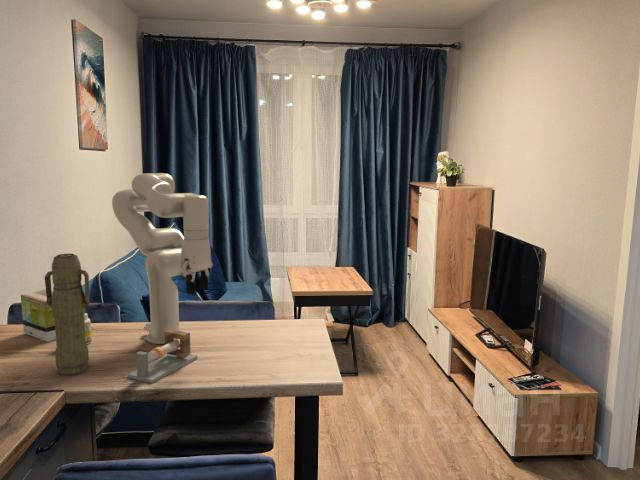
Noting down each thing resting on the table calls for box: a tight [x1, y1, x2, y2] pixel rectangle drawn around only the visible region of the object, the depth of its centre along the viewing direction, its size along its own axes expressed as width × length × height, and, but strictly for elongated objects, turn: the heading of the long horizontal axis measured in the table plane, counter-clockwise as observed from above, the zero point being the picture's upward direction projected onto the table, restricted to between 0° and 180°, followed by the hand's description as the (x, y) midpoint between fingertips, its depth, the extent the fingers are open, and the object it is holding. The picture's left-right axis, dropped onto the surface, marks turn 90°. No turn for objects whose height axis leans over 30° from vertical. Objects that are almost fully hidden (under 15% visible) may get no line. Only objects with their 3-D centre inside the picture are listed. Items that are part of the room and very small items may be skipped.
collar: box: [164, 329, 190, 358], centre depth 164 cm, size 8×2×7 cm, turn 66°
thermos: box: [44, 253, 91, 377], centre depth 154 cm, size 9×12×35 cm
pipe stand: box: [127, 332, 198, 384], centre depth 159 cm, size 9×21×8 cm, turn 156°
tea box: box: [20, 289, 56, 343], centre depth 186 cm, size 15×10×15 cm, turn 58°
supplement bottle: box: [84, 312, 92, 345], centre depth 179 cm, size 6×6×10 cm
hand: (197, 290), depth 166 cm, fingers open, 5 cm apart
